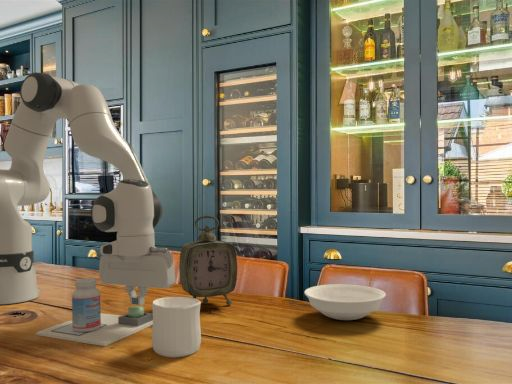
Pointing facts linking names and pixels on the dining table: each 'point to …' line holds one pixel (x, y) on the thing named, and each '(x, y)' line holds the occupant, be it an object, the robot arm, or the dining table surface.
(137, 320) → the button housing
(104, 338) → the paper board
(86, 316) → the pill bottle
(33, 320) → the dining table surface
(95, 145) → the robot arm
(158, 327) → the cup
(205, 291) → the tabletop clock
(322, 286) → the bowl
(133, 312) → the button
